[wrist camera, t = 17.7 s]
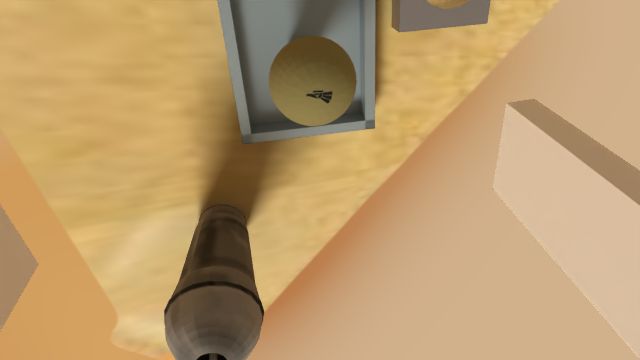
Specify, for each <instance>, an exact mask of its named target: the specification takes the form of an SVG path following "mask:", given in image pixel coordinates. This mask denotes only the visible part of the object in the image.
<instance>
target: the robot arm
mask: <svg viewBox="0 0 640 360" xmlns="http://www.w3.org/2000/svg"><path fill="white" fill-rule="evenodd" d="M493 190H494V191H495V192H496V193H497V195H498V196H499V197H500V198H501V199H502V200H503V201H504V202H505V204H506V205H507V206H508V207H509V208H510V209H511V211H512V212H513V213H514V214H515V215H516V217H517V218H518V219H519V220H520V221H521V222H522V224H523V225H524V226H525V227H526V228H527V229H528V230H529V232H530V233H531V234H532V235H533V236H534V237H535V239H536V240H537V241H538V242H539V243H540V244H541V245H542V247H543V248H544V249H545V250H546V251H547V253H548V254H549V255H550V256H551V257H552V258H553V259H554V261H555V262H556V263H557V264H558V265H559V266H560V268H561V269H562V270H563V271H564V272H565V273H566V274H567V276H568V277H569V278H570V279H571V280H572V281H573V283H574V284H575V285H576V286H577V287H578V288H579V289H580V291H581V292H582V293H583V294H584V295H585V297H586V298H587V299H588V300H589V301H590V302H591V304H592V305H593V306H594V307H595V308H596V309H597V310H598V312H599V313H600V314H601V315H602V316H603V317H604V319H605V320H606V321H607V322H608V323H609V324H610V326H612V328H613V329H614V330H615V331H616V332H617V334H618V335H619V336H620V337H621V338H622V339H623V340H624V342H625V343H626V344H627V345H628V346H629V347H630V349H631V350H632V351H633V352H634V353H635V355H636V356H637V357H638V358H639V359H640V171H639V170H638V169H636V168H635V167H634V166H632V165H631V164H629V163H628V162H626V161H625V160H623V159H622V158H620V157H619V156H617V155H616V154H614V153H613V152H611V151H610V150H608V149H607V148H605V147H604V146H603V145H601V144H600V143H598V142H597V141H595V140H594V139H592V138H591V137H589V136H588V135H587V134H585V133H584V132H582V131H581V130H579V129H578V128H576V127H575V126H573V125H572V124H570V123H569V122H567V121H566V120H564V119H563V118H562V117H560V116H559V115H557V114H556V113H554V112H553V111H551V110H550V109H548V108H547V107H545V106H544V105H542V104H541V103H539V102H538V101H537V100H535V99H531V100H524V101H518V102H511V103H507V104H506V110H505V116H504V122H503V128H502V134H501V141H500V147H499V154H498V159H497V165H496V172H495V178H494V184H493ZM37 266H38V263H37V261H36V259H35V258H34V256H33V255H32V253H31V252H30V250H29V248H28V247H27V245H26V244H25V242H24V241H23V239H22V237H21V236H20V234H19V233H18V231H17V230H16V228H15V227H14V225H13V223H12V222H11V220H10V219H9V217H8V216H7V214H6V213H5V211H4V209H3V208H2V206H1V205H0V331H1V329H2V327H3V325H4V324H5V322H6V320H7V319H8V317H9V315H10V313H11V312H12V310H13V308H14V306H15V305H16V303H17V301H18V299H19V298H20V296H21V294H22V292H23V290H24V289H25V287H26V285H27V284H28V282H29V280H30V278H31V277H32V275H33V273H34V271H35V270H36V268H37Z"/></svg>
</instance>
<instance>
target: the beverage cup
mask: <svg viewBox="0 0 640 360" xmlns="http://www.w3.org/2000/svg"><path fill="white" fill-rule="evenodd" d="M263 316H264V309H263V306H262V303H261V301H260V298H259V295H258V292H257V288H256V285H255V278H254V271H253V264H252V257H251V250H250V242H249V235H248V230H247V227H246V221H245V217H244V216H243V214H242V213H241V212H240V211H239V210H237V209H236V208H234V207H231V206H226V205H218V206H213V207H211V208H209V209H207V210H206V211H205V212H204V213H203V214H202V215H201V217H200V219H199V223H198V225H197V227H196V229H195V232H194V235H193V238H192V241H191V245H190V248H189V251H188V254H187V257H186V261H185V264H184V267H183V270H182V273H181V277H180V280H179V283H178V285H177V287H176V289H175V291H174V293H173V295H172V297H171V299H170V300H169V302H168V304H167V306H166V308H165V310H164V317H165V335H166V341H167V344H168V347H169V348H170V350H171V352H172V354H173V356H174V358H175V359H176V360H245V359H246V358H248V356H249V355H250V353H251V352H252V350H253V348H254V347H255V345H256V343H257V341H258V339H259V336H260V331H261V326H262V322H263Z"/></svg>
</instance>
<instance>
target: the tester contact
mask: <svg viewBox="0 0 640 360" xmlns="http://www.w3.org/2000/svg"><path fill="white" fill-rule="evenodd" d="M426 1H427V2H428V3H430V4H431V5H433V6H435V7H438V8H442V9H452V8H456V7H459V6H461V5H463V4H465V3H466V2H468V1H469V0H426Z"/></svg>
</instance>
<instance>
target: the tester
mask: <svg viewBox="0 0 640 360" xmlns="http://www.w3.org/2000/svg"><path fill="white" fill-rule="evenodd" d="M489 7H490V0H469V1H468V2H466V3H465V4H463V5H461V6H459V7H456V8H452V9H442V8H438V7H435V6H433V5H431V4H430V3H428V2H427V1H426V0H392V27H393V28H394V29H396V30H397V31H398V32H407V31H417V30H427V29H437V28H447V27H457V26H466V25H476V24H486V23H487V21H488V14H489Z"/></svg>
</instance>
